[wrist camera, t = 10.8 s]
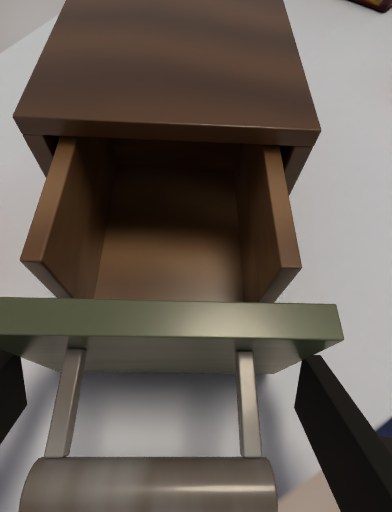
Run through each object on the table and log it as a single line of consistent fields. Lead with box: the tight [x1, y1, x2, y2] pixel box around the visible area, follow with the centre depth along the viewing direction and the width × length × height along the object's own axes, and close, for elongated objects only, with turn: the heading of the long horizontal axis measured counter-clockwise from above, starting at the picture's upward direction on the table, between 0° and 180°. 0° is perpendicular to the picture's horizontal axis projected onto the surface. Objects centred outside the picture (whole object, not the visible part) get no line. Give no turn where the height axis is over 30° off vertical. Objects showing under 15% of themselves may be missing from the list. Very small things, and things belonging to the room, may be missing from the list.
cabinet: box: [13, 0, 321, 195], centre depth 20 cm, size 16×13×10 cm
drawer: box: [0, 136, 344, 512], centre depth 15 cm, size 19×12×8 cm, turn 0°
